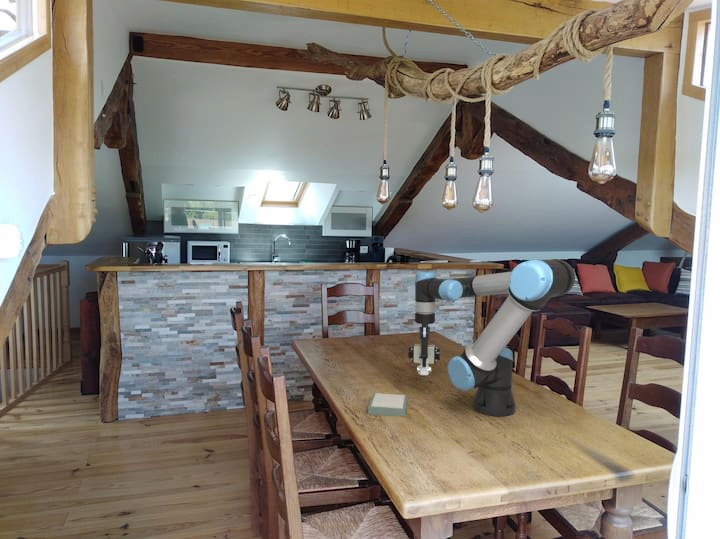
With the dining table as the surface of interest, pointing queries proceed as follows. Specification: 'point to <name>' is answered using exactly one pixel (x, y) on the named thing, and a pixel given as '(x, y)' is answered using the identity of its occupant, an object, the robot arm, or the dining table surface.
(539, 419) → the dining table surface
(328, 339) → the dining table surface
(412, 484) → the dining table surface
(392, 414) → the stand
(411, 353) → the pneumatic valve
